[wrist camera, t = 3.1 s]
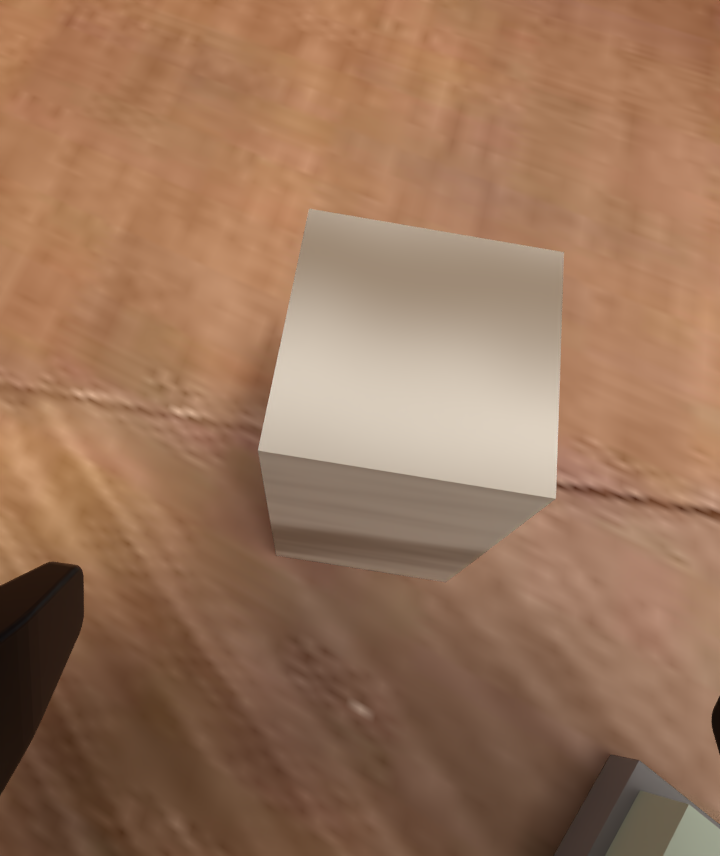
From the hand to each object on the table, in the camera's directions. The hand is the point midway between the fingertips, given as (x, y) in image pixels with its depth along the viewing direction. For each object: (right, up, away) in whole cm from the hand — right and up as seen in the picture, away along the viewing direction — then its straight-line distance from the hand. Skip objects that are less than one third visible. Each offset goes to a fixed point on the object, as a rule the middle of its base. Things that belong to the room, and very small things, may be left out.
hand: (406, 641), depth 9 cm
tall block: (0, +1, +13) cm, 13 cm away
